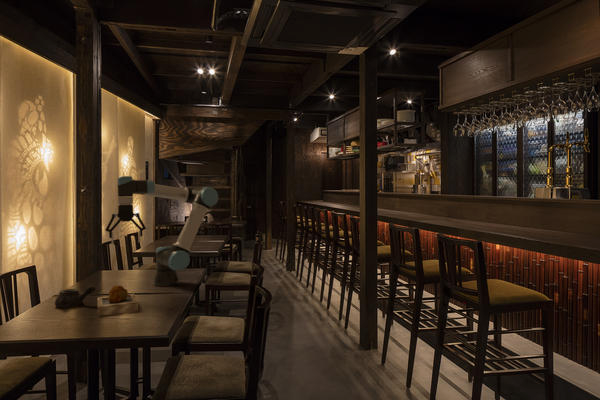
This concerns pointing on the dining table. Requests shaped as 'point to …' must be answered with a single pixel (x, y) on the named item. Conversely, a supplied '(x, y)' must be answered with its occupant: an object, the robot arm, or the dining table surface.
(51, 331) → the dining table surface
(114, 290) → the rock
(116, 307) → the plinth
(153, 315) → the dining table surface
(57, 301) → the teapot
